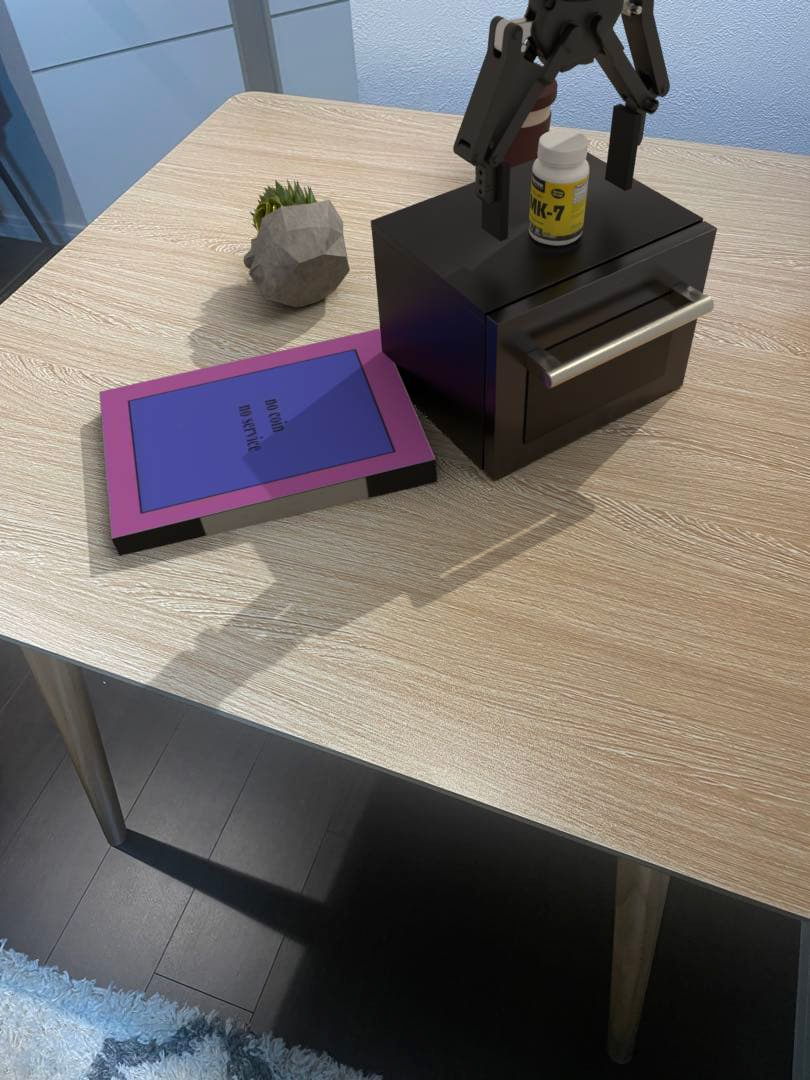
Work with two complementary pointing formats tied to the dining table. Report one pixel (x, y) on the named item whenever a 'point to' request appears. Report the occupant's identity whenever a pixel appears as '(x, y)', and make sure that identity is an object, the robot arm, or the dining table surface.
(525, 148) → the coffee cup
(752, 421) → the dining table surface
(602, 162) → the oven
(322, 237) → the potted plant
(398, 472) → the book
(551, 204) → the supplement bottle
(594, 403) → the oven door
